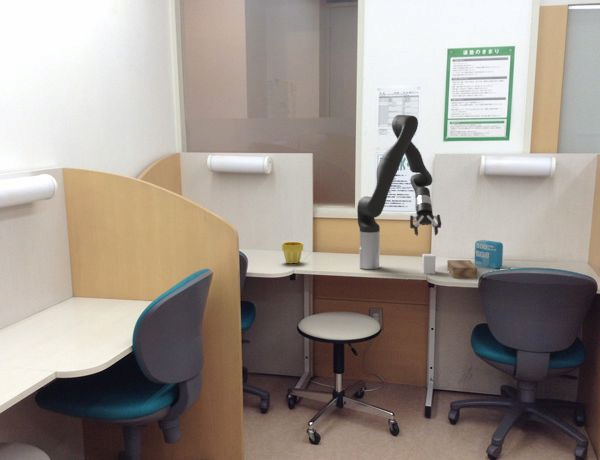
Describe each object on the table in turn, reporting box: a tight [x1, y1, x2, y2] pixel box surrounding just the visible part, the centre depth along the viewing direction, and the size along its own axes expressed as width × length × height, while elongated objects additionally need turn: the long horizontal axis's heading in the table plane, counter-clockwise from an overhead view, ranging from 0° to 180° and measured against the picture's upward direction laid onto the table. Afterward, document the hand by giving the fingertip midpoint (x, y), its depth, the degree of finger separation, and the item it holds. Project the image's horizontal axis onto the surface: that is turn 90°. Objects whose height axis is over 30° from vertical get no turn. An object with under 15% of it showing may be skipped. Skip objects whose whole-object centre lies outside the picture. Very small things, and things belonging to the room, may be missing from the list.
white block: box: [421, 253, 437, 275], centre depth 263 cm, size 5×6×8 cm
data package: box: [473, 239, 504, 270], centre depth 273 cm, size 12×4×12 cm, turn 40°
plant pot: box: [281, 241, 304, 264], centre depth 288 cm, size 10×10×10 cm
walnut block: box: [446, 259, 478, 279], centre depth 260 cm, size 10×16×5 cm, turn 175°
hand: (426, 234), depth 273 cm, fingers open, 8 cm apart
